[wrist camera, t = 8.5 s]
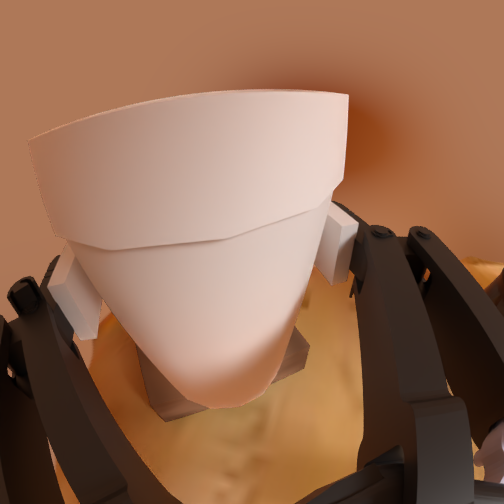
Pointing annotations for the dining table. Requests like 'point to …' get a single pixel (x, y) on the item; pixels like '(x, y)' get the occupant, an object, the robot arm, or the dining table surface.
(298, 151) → the foam cup
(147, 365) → the walnut plinth
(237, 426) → the dining table surface
